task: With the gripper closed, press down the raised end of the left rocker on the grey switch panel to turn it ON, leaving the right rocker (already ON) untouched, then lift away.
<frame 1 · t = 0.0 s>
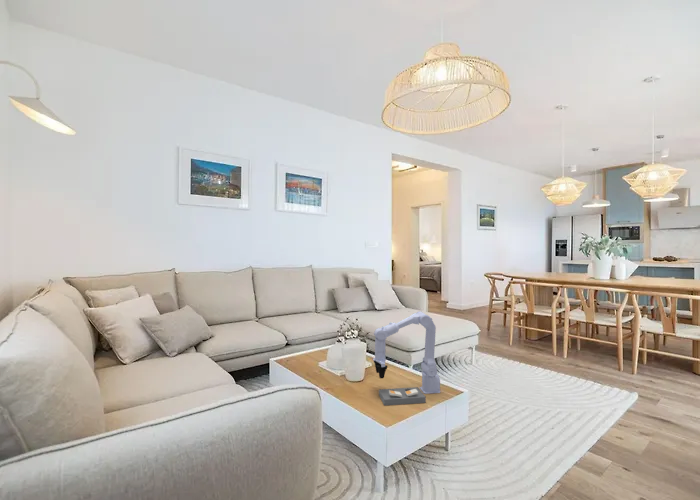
hand: (380, 375, 186), 10 cm above the table, tool pointing down, fingers open, 7 cm apart
rocker 1: (395, 393, 176), point 4 cm above the table, hinge at -12.0°
grey switch panel: (401, 398, 180), on the table
rocker 2: (411, 392, 177), point 4 cm above the table, hinge at 12.0°
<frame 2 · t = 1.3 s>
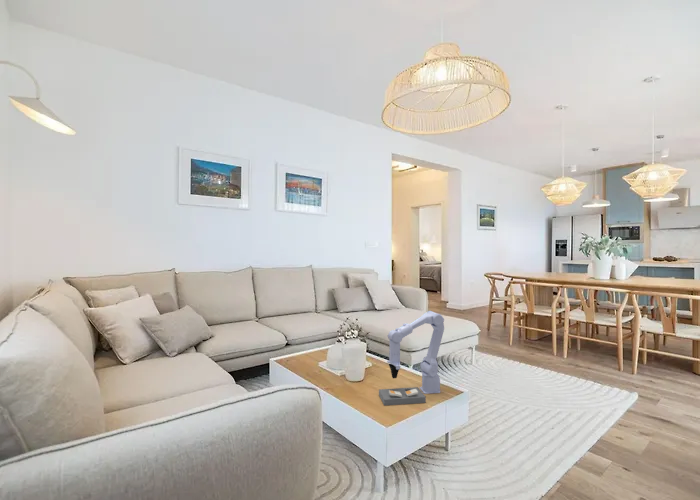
hand: (394, 377, 184), 9 cm above the table, tool pointing down, fingers closed
nothing on the table moved.
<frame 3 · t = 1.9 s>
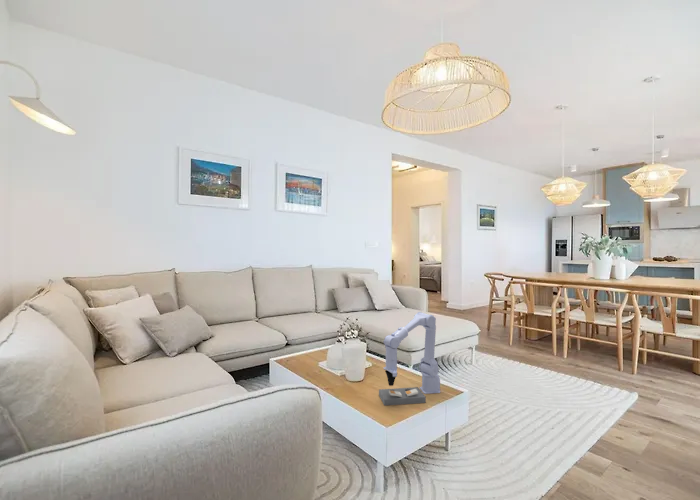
hand: (391, 385, 176), 9 cm above the table, tool pointing down, fingers closed
nothing on the table moved.
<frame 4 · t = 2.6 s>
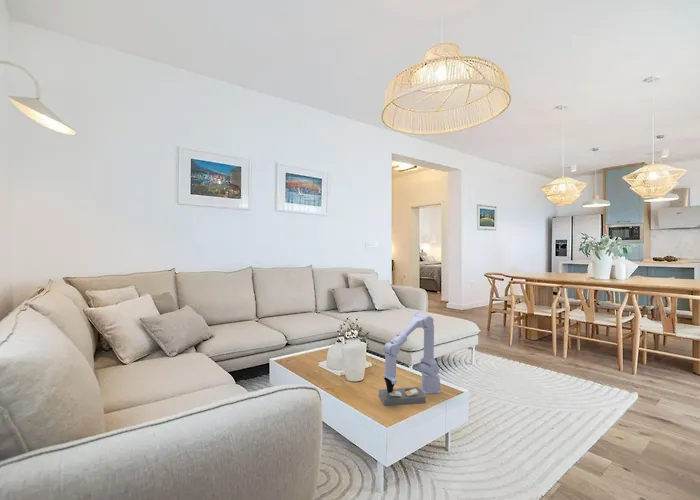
hand: (389, 392, 176), 5 cm above the table, tool pointing down, fingers closed, pressing on rocker 1
rocker 1: (395, 393, 176), point 4 cm above the table, hinge at -10.0°, touching gripper
everything else where it was.
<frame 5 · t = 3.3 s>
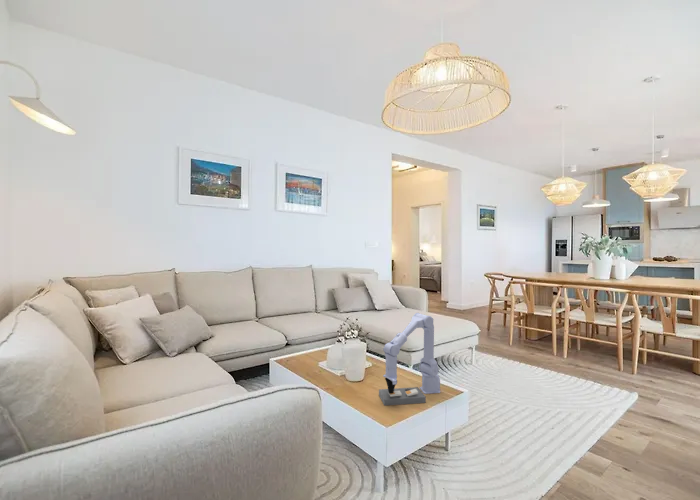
hand: (390, 392, 176), 5 cm above the table, tool pointing down, fingers closed
rocker 1: (395, 393, 176), point 4 cm above the table, hinge at 3.3°
everything else where it was.
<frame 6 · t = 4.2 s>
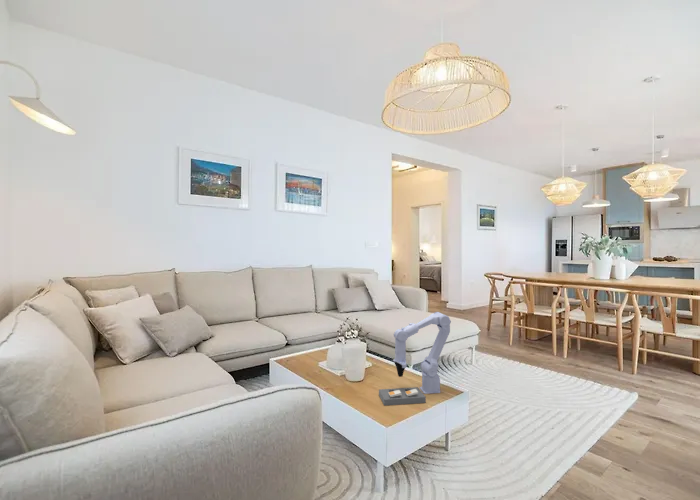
hand: (400, 376, 187), 9 cm above the table, tool pointing down, fingers closed
rocker 1: (394, 393, 176), point 4 cm above the table, hinge at 9.4°
everything else where it was.
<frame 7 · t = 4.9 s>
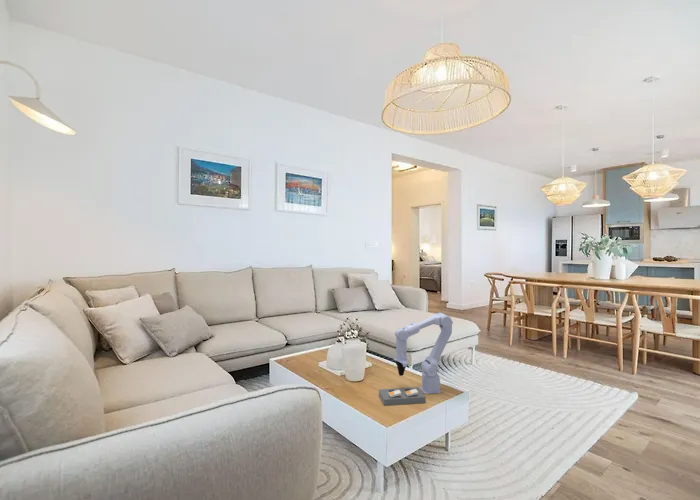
hand: (401, 375, 188), 9 cm above the table, tool pointing down, fingers closed
rocker 1: (394, 393, 176), point 4 cm above the table, hinge at 12.8°
everything else where it was.
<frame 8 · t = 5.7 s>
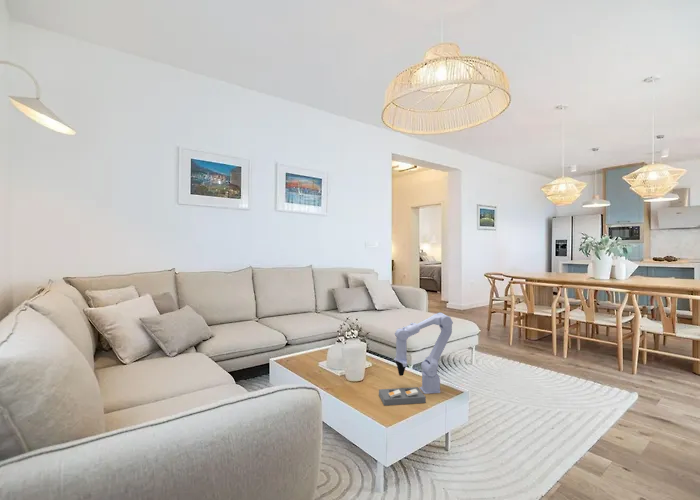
hand: (401, 375, 188), 9 cm above the table, tool pointing down, fingers closed
rocker 1: (394, 393, 176), point 4 cm above the table, hinge at 15.6°
everything else where it was.
at the end: rocker 1 at +16° (first picture: -12°); rocker 2 at +12° (first picture: +12°) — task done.
